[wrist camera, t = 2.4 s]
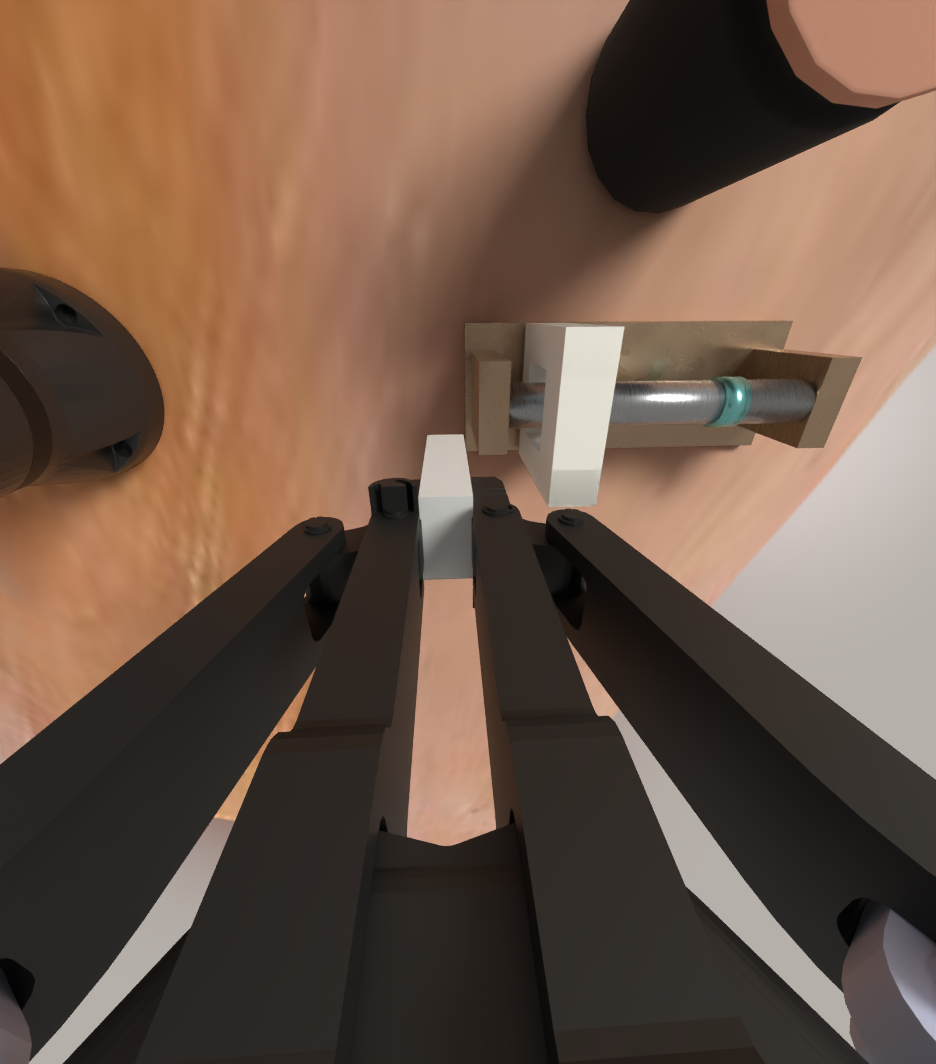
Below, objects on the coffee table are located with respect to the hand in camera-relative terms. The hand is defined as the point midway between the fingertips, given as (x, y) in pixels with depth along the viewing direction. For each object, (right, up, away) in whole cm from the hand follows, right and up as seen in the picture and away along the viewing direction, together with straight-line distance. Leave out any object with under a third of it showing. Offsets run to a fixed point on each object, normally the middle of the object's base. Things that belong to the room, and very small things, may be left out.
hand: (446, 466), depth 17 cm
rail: (+14, +10, +17) cm, 24 cm away
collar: (+7, +8, +15) cm, 19 cm away
